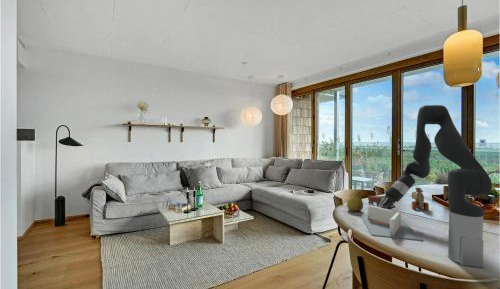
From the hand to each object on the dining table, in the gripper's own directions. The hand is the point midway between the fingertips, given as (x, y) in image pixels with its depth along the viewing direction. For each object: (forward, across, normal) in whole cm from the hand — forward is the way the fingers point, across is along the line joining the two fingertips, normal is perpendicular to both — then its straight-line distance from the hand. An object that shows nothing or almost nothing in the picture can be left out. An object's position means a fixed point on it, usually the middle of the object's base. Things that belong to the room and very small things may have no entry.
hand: (375, 214), depth 130 cm
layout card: (+1, +8, +3) cm, 9 cm away
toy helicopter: (-27, -24, +33) cm, 49 cm away
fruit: (+4, -18, +1) cm, 18 cm away
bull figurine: (-9, -25, +15) cm, 31 cm away
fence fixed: (+2, +16, +3) cm, 16 cm away
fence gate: (+1, +4, +3) cm, 5 cm away
